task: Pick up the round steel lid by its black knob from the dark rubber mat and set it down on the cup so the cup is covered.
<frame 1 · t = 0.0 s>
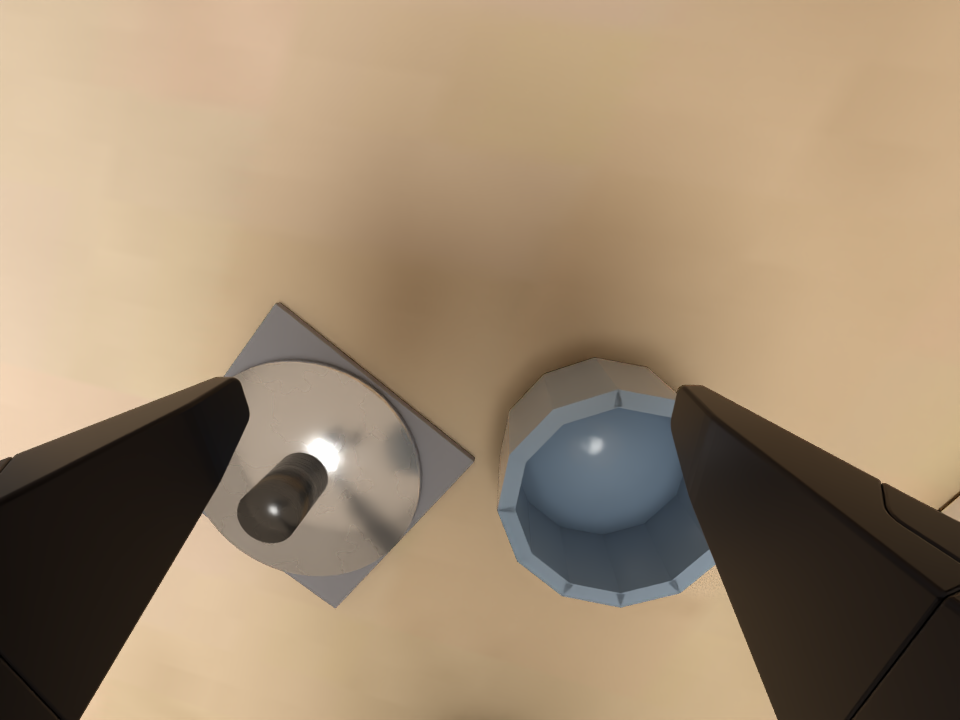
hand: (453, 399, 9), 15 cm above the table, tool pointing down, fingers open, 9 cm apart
cup: (597, 451, 26), on the table
mat: (311, 465, 27), on the table
lid: (308, 469, 27), resting on mat
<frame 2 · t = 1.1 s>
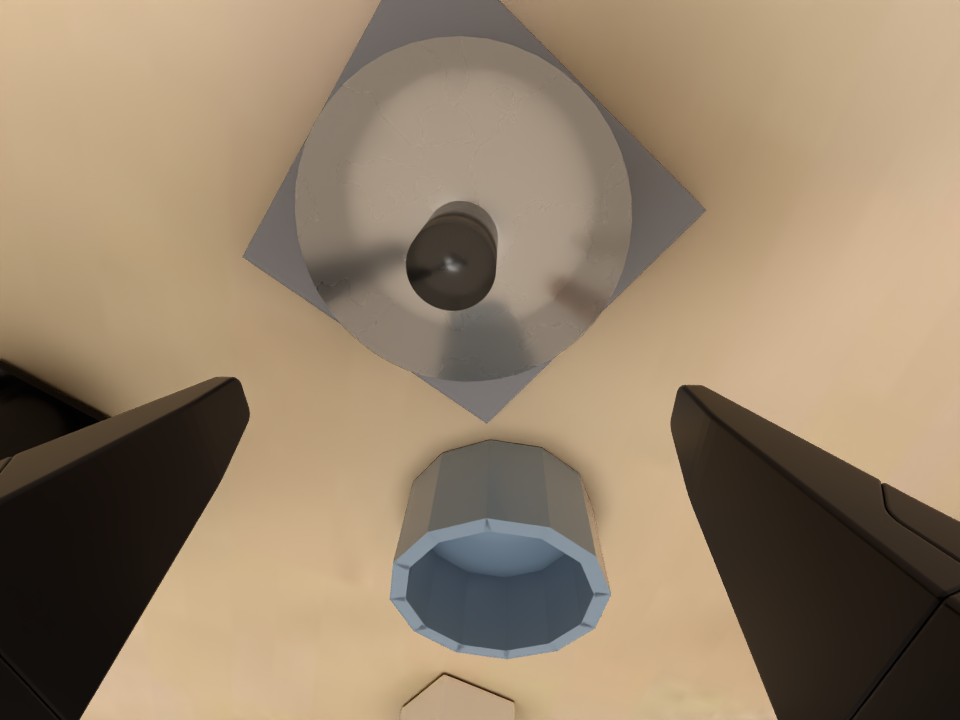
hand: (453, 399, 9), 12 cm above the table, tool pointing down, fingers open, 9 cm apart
cup: (499, 512, 28), on the table
mat: (463, 231, 20), on the table
milk carton: (457, 700, 39), on the table
lid: (462, 234, 19), resting on mat
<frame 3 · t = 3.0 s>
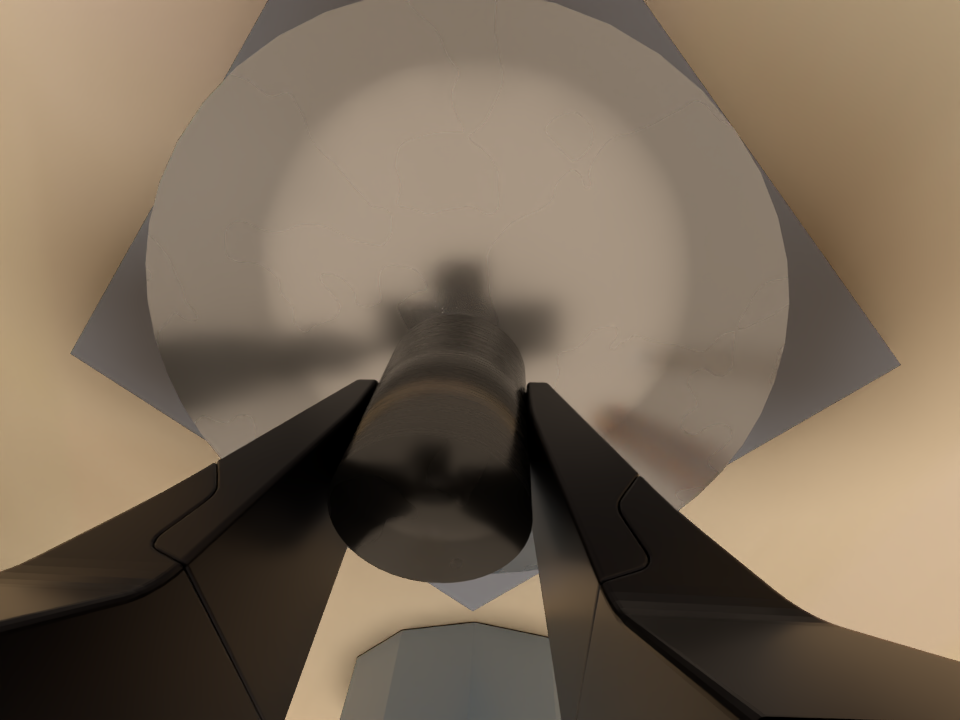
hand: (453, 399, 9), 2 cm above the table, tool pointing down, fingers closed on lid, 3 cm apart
cup: (477, 700, 19), on the table
mat: (463, 349, 11), on the table
lid: (461, 358, 11), resting on mat, touching gripper
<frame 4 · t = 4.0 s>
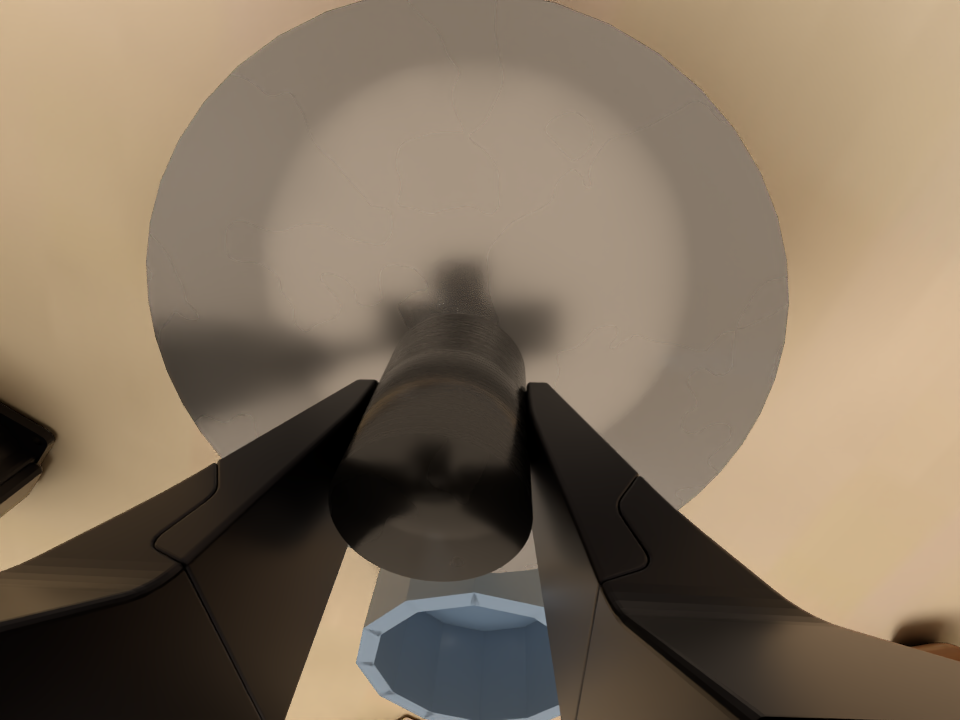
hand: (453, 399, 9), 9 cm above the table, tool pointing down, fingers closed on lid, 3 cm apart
cup: (483, 563, 25), on the table
lid: (461, 358, 11), point 7 cm above the table, touching gripper
tin: (909, 679, 29), on the table
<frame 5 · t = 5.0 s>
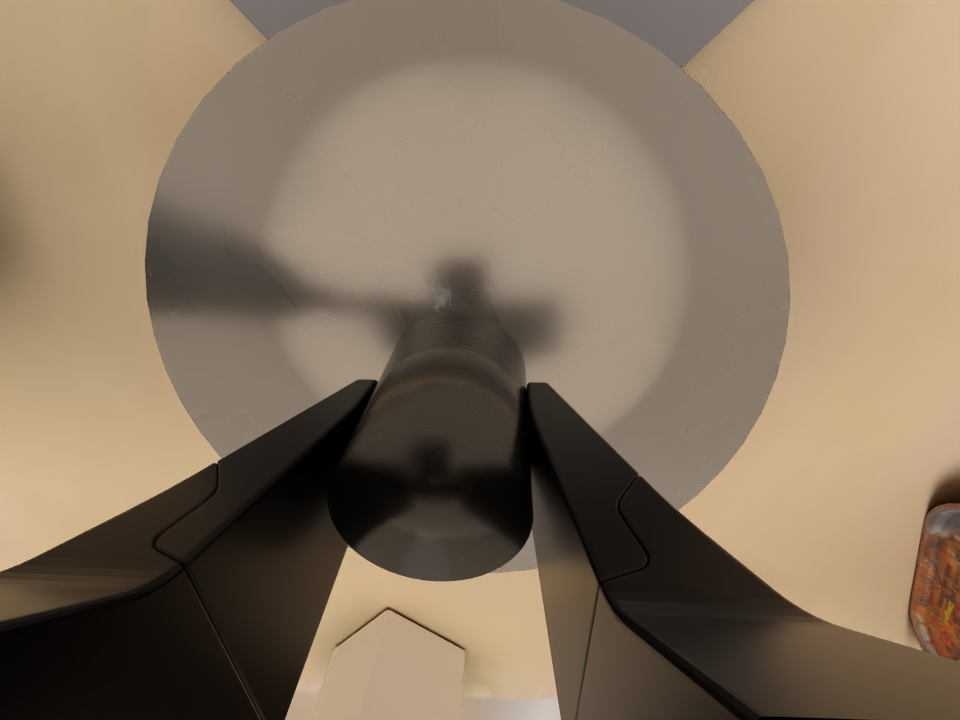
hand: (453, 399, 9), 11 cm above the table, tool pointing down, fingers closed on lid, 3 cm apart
milk carton: (400, 644, 34), on the table
lid: (461, 357, 11), point 9 cm above the table, touching gripper
tin: (942, 557, 26), on the table
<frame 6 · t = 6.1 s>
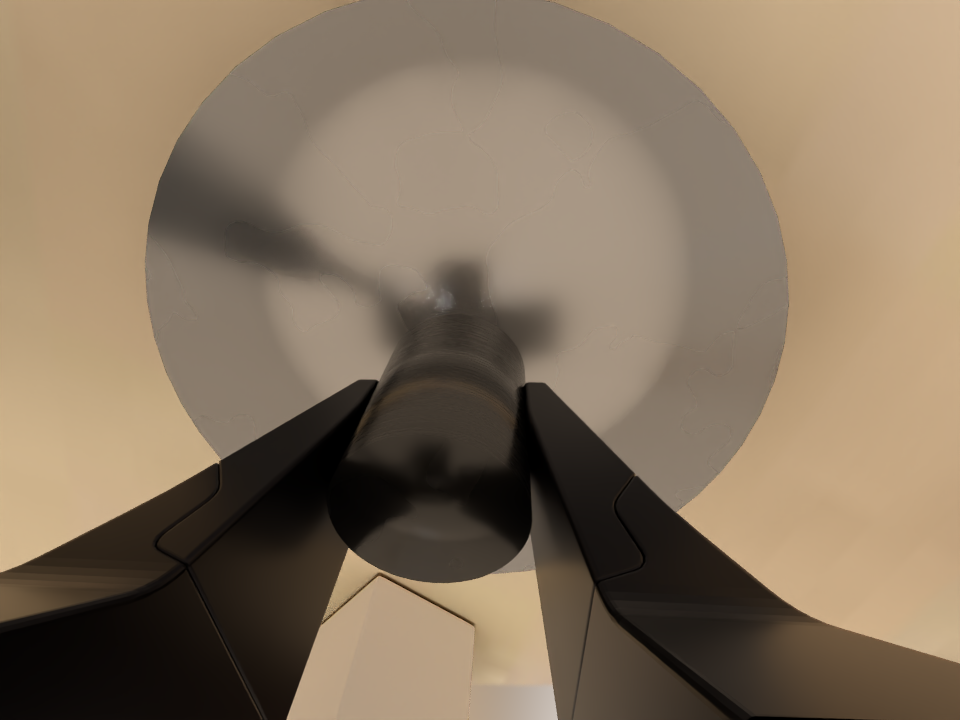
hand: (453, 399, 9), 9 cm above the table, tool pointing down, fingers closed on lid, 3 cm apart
milk carton: (396, 620, 28), on the table
lid: (461, 358, 11), point 7 cm above the table, touching gripper
when the fingers open (9 cm above the table, at t = 6.2 s): lid drops 1 cm, resting on cup.
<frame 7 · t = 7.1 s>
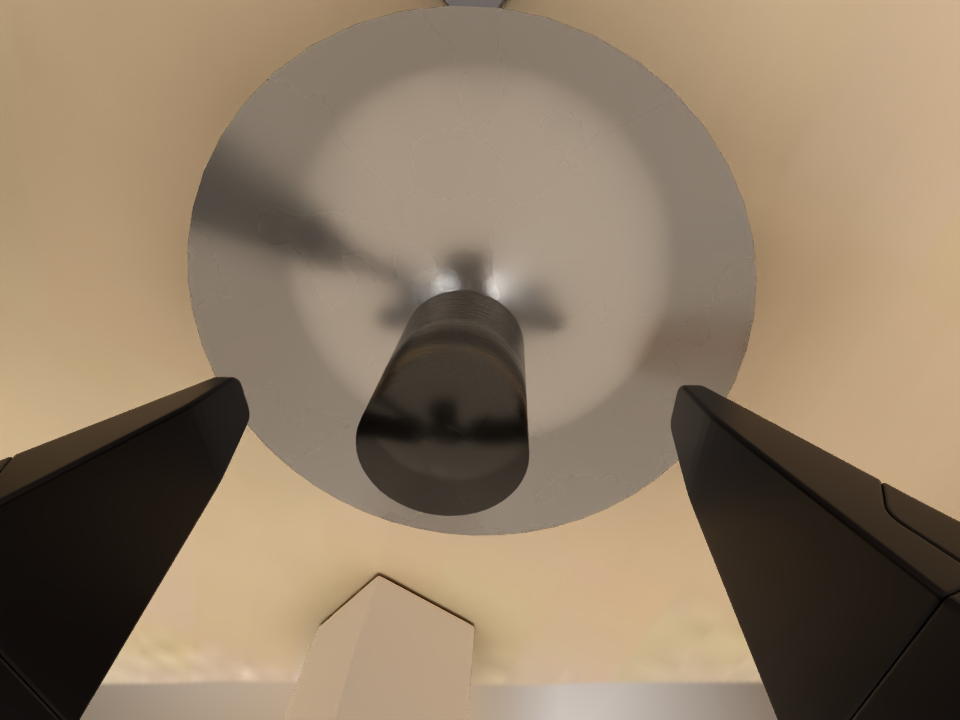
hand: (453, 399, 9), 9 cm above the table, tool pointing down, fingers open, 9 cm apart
milk carton: (396, 621, 28), on the table
lid: (466, 333, 12), point 5 cm above the table, touching cup
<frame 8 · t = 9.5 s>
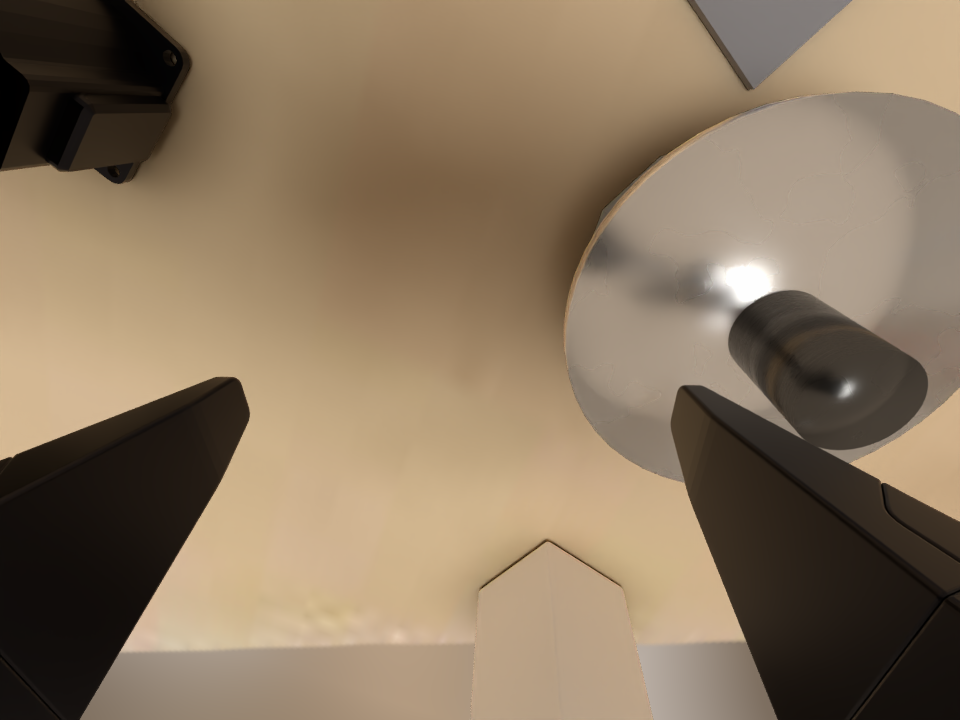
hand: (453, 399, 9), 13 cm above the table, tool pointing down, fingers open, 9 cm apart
cup: (705, 273, 20), on the table
milk carton: (549, 584, 32), on the table
lid: (764, 323, 15), point 5 cm above the table, touching cup
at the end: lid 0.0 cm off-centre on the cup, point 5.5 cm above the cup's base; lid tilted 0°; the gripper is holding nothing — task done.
